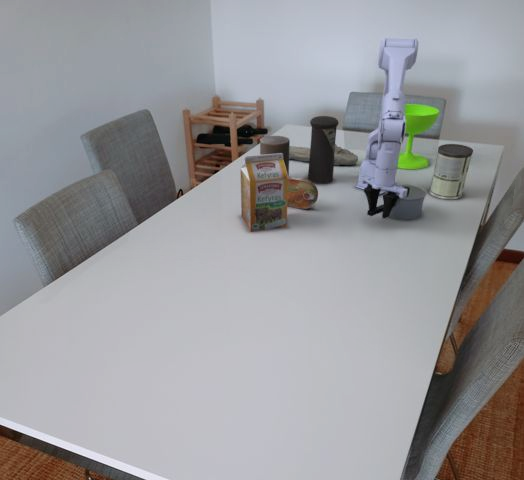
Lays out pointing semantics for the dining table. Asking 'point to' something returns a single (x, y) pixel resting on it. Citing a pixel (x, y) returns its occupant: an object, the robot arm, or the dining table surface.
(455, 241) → the dining table surface
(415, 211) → the saucepan
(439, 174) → the coffee can
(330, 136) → the container
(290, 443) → the dining table surface
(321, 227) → the dining table surface
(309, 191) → the tin
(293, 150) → the elongated rock
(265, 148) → the pillar candle
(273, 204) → the milk carton
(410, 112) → the wineglass
